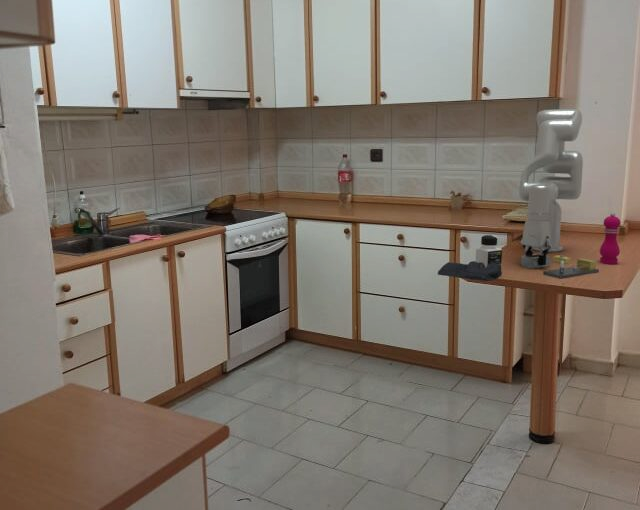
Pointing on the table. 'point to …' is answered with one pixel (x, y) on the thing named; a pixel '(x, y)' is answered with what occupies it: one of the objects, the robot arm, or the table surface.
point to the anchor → (561, 259)
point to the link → (533, 261)
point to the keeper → (574, 269)
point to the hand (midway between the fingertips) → (535, 263)
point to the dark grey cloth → (471, 271)
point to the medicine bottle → (489, 251)
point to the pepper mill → (610, 240)
